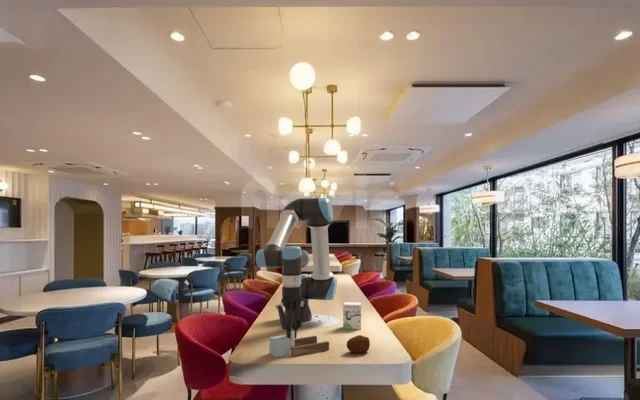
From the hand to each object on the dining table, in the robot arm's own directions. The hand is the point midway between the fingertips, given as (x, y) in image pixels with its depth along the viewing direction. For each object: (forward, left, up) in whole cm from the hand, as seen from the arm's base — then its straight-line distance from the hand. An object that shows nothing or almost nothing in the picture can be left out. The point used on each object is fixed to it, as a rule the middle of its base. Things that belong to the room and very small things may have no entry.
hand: (291, 347), depth 154 cm
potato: (+14, +22, -2) cm, 26 cm away
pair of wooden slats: (0, +6, -2) cm, 6 cm away
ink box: (-18, +42, -2) cm, 46 cm away
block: (0, -5, -2) cm, 5 cm away
